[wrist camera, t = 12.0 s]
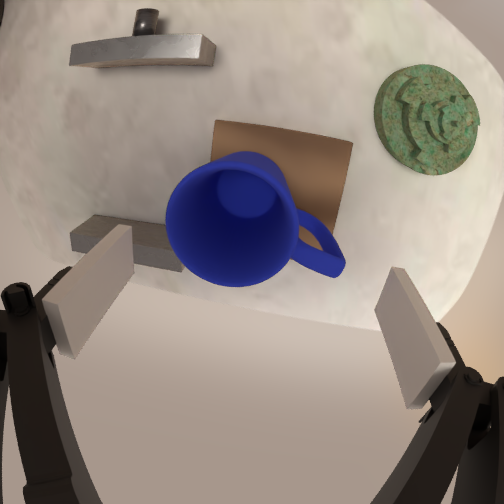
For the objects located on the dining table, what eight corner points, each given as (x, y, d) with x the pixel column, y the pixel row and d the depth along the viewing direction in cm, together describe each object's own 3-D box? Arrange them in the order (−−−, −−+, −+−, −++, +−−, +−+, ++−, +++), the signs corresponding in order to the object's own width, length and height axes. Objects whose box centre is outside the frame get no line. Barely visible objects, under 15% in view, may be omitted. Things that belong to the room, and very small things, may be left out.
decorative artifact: (359, 145, 26) (444, 184, 26) (381, 158, 20) (480, 207, 20) (390, 49, 21) (474, 97, 22) (420, 35, 15) (516, 101, 15)
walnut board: (217, 119, 26) (214, 120, 25) (350, 141, 26) (353, 143, 25) (205, 240, 31) (203, 244, 31) (323, 260, 31) (324, 264, 30)
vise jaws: (104, 23, 22) (77, 14, 17) (220, 16, 21) (208, 0, 17) (95, 231, 32) (72, 250, 28) (195, 247, 32) (181, 272, 27)
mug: (307, 259, 30) (314, 325, 21) (190, 209, 29) (150, 258, 20) (348, 184, 26) (379, 226, 18) (222, 127, 25) (189, 139, 16)
